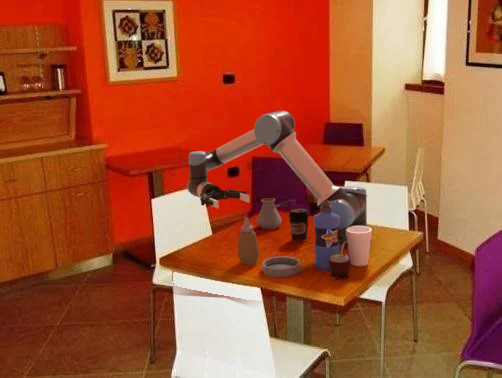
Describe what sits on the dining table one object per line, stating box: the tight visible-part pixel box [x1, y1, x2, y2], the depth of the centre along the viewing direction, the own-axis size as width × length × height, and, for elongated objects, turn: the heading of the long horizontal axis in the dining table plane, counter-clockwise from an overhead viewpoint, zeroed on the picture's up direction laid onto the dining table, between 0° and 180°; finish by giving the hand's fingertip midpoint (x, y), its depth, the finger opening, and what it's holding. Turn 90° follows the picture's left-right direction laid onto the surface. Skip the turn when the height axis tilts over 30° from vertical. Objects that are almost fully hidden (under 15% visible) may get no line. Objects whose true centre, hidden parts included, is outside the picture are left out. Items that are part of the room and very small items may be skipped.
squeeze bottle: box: [237, 216, 260, 266], centre depth 228 cm, size 8×8×18 cm
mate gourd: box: [329, 240, 351, 281], centre depth 209 cm, size 8×8×15 cm
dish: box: [261, 255, 302, 278], centre depth 220 cm, size 14×14×3 cm
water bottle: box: [312, 200, 341, 272], centre depth 219 cm, size 9×9×25 cm
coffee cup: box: [288, 208, 310, 243], centre depth 253 cm, size 9×8×13 cm
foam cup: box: [346, 226, 373, 267], centre depth 222 cm, size 10×9×13 cm
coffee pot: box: [256, 197, 296, 230], centre depth 270 cm, size 21×12×15 cm, turn 45°
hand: (233, 202), depth 233 cm, fingers open, 13 cm apart
